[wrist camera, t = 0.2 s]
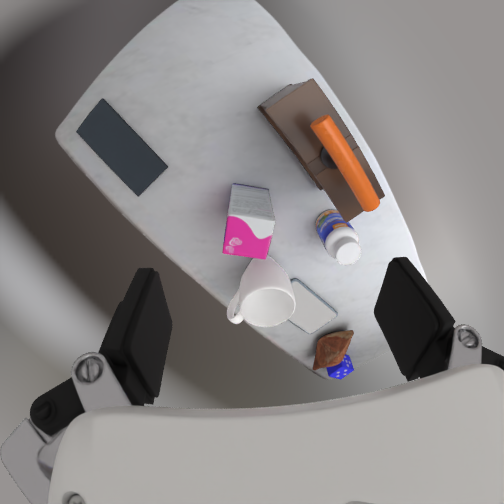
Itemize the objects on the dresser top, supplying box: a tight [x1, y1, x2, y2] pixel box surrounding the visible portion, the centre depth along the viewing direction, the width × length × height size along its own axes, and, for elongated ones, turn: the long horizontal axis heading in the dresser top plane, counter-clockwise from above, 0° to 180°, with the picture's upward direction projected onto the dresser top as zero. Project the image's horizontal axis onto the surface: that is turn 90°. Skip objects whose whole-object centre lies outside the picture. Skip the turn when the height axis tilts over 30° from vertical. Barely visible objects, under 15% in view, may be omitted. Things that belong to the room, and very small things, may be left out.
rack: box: [257, 78, 385, 223], centre depth 32 cm, size 16×6×12 cm, turn 38°
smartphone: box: [288, 279, 338, 334], centre depth 54 cm, size 8×1×15 cm
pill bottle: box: [316, 210, 361, 266], centre depth 41 cm, size 5×5×10 cm
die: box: [326, 355, 354, 379], centre depth 64 cm, size 5×5×5 cm
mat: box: [76, 99, 168, 196], centre depth 36 cm, size 16×7×1 cm, turn 38°
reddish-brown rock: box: [313, 330, 354, 370], centre depth 58 cm, size 13×8×10 cm
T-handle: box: [310, 115, 380, 212], centre depth 28 cm, size 10×3×14 cm, turn 38°
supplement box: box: [223, 183, 276, 260], centre depth 37 cm, size 6×6×12 cm
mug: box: [227, 255, 296, 327], centre depth 44 cm, size 12×8×11 cm
